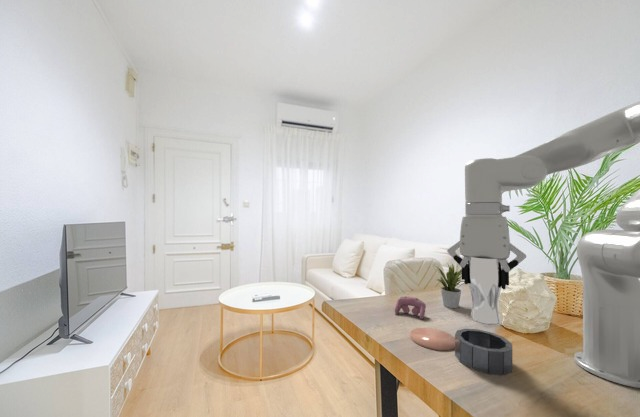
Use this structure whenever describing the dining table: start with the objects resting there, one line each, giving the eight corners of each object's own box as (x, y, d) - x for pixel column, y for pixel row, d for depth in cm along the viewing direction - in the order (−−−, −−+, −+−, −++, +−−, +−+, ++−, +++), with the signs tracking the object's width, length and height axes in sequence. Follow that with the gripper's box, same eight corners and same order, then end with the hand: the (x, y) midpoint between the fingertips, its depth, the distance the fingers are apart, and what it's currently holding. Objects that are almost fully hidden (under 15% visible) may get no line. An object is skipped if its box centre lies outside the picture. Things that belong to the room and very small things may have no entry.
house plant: (483, 314, 92) (483, 267, 92) (444, 313, 92) (444, 266, 93) (462, 301, 106) (462, 260, 107) (428, 300, 106) (428, 260, 107)
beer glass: (509, 327, 58) (507, 259, 59) (474, 324, 60) (473, 258, 60) (495, 315, 65) (493, 254, 66) (464, 313, 67) (463, 254, 67)
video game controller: (425, 321, 89) (427, 300, 92) (423, 319, 85) (425, 297, 88) (396, 315, 94) (398, 295, 97) (393, 313, 91) (395, 292, 94)
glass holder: (512, 358, 64) (512, 337, 64) (512, 381, 54) (512, 357, 54) (459, 343, 70) (459, 325, 70) (451, 362, 61) (451, 341, 61)
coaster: (460, 337, 74) (460, 335, 74) (453, 355, 64) (453, 353, 64) (417, 326, 81) (417, 324, 81) (404, 341, 71) (404, 338, 71)
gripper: (528, 210, 61) (530, 287, 61) (446, 211, 71) (447, 277, 71) (530, 210, 55) (532, 295, 55) (440, 211, 65) (442, 283, 65)
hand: (484, 284), depth 63 cm, fingers closed on beer glass, 6 cm apart
